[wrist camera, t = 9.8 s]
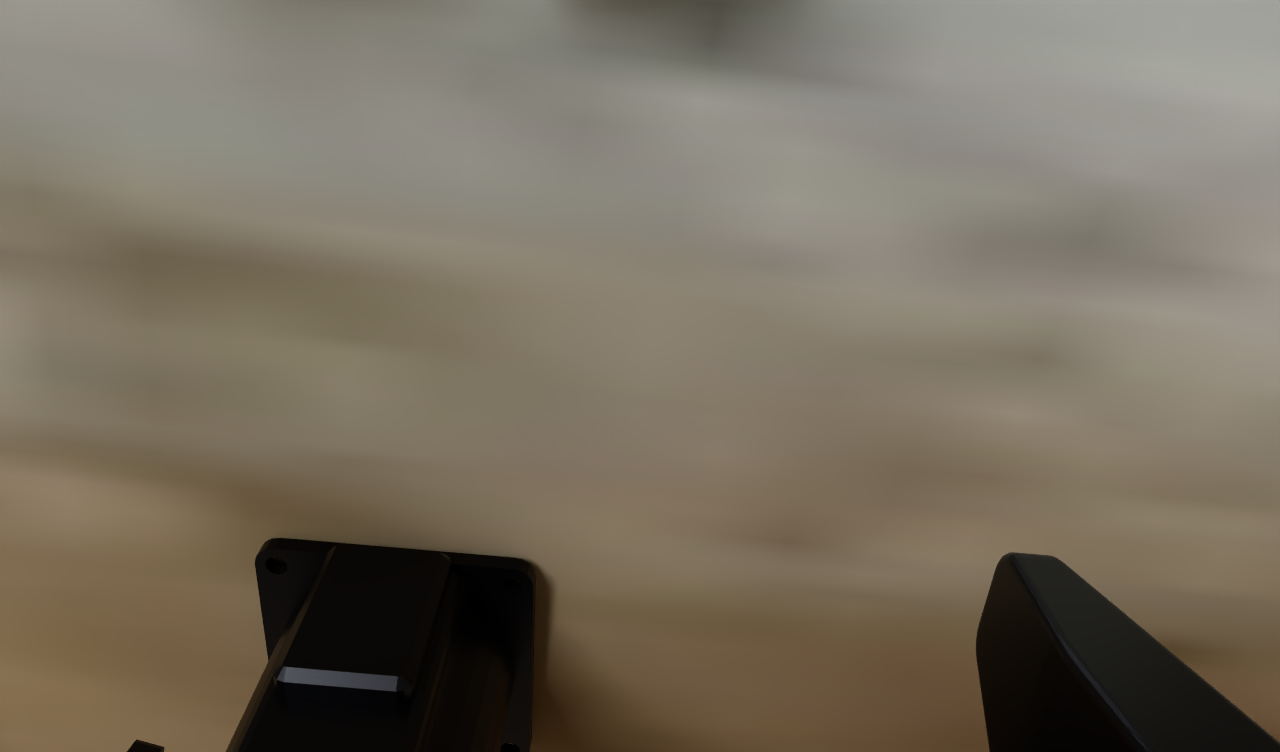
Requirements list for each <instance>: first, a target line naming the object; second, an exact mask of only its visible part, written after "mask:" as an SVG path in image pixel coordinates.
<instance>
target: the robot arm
mask: <svg viewBox="0 0 1280 752" xmlns="http://www.w3.org/2000/svg"><path fill="white" fill-rule="evenodd" d="M273 557H277V558H281V559H282V560H283V561H285V562H286V563H280V562H277V561H276V560H275V559H273ZM255 568H256V575H257V582H258V589H259V596H260V604H261V611H262V618H263V625H264V632H265V639H266V646H267V654H268V664H267V666H266V668H265V670H264V672H263V674H262V676H261V678H260V680H259V683H258V685H257V687H256V689H255V691H254V693H253V695H252V697H251V699H250V701H249V704H248V706H247V708H246V710H245V712H244V714H243V716H242V718H241V720H240V723H239V725H238V727H237V729H236V731H235V733H234V735H233V737H232V739H231V742H230V744H229V746H228V748H227V750H226V752H529V751H530V746H531V740H532V703H533V664H534V626H535V587H536V575H535V571H534V569H533V567H532V566H531V565H530V564H529V563H527V562H526V561H524V560H522V559H518V558H511V557H499V556H488V555H476V554H464V553H452V552H440V551H428V550H417V549H405V548H393V547H381V546H369V545H357V544H346V543H334V542H322V541H310V540H298V539H287V538H273V539H270V540H268V541H266V542H265V543H264V544H263V546H262V547H261V549H260V551H259V553H258V554H257V556H256V559H255ZM508 577H514V578H517V579H519V580H520V581H521V582H518V583H513V582H510V581H508V580H507V579H506V578H508ZM976 657H977V665H978V672H979V679H980V686H981V693H982V700H983V708H984V715H985V722H986V729H987V736H988V743H989V750H990V752H1280V743H1279V742H1278V741H1277V740H1276V739H1275V738H1273V737H1272V736H1271V735H1270V734H1269V733H1267V732H1266V731H1265V730H1264V729H1263V728H1261V727H1260V726H1259V725H1258V724H1257V723H1255V722H1254V721H1253V720H1252V719H1251V718H1249V717H1248V716H1247V715H1246V714H1245V713H1243V712H1242V711H1241V710H1240V709H1239V708H1237V707H1236V706H1235V705H1234V704H1233V703H1231V702H1230V701H1229V700H1228V699H1227V698H1225V697H1224V696H1223V695H1222V694H1221V693H1219V692H1218V691H1217V690H1216V689H1215V688H1213V687H1212V686H1211V685H1210V684H1209V683H1207V682H1206V681H1205V680H1204V679H1203V678H1201V677H1200V676H1199V675H1198V674H1197V673H1195V672H1194V671H1193V670H1192V669H1191V668H1189V667H1188V666H1187V665H1186V664H1185V663H1183V662H1182V661H1181V660H1180V659H1179V658H1177V657H1176V656H1175V655H1174V654H1173V653H1171V652H1170V651H1169V650H1168V649H1167V648H1165V647H1164V646H1163V645H1162V644H1161V643H1159V642H1158V641H1157V640H1156V639H1155V638H1153V637H1152V636H1151V635H1150V634H1149V633H1147V632H1146V631H1145V630H1144V629H1143V628H1141V627H1140V626H1139V625H1138V624H1137V623H1135V622H1134V621H1133V620H1132V619H1131V618H1129V617H1128V616H1127V615H1126V614H1125V613H1123V612H1122V611H1121V610H1120V609H1119V608H1117V607H1116V606H1115V605H1114V604H1113V603H1111V602H1110V601H1109V600H1108V599H1107V598H1105V597H1104V596H1103V595H1102V594H1101V593H1099V592H1098V591H1097V590H1096V589H1095V588H1093V587H1092V586H1091V585H1090V584H1089V583H1087V582H1086V581H1085V580H1084V579H1083V578H1081V577H1080V576H1079V575H1078V574H1077V573H1075V572H1074V571H1073V570H1072V569H1071V568H1069V567H1068V566H1067V565H1066V564H1065V563H1063V562H1062V561H1061V560H1059V559H1058V558H1056V557H1053V556H1048V555H1037V554H1025V553H1013V552H1012V553H1008V554H1006V555H1004V556H1003V557H1002V558H1001V559H1000V561H999V562H998V564H997V567H996V569H995V573H994V576H993V579H992V583H991V586H990V589H989V593H988V596H987V599H986V603H985V606H984V609H983V613H982V616H981V619H980V623H979V626H978V630H977V637H976ZM508 743H512V744H514V745H512V744H508ZM127 752H164V747H162V746H158V745H155V744H151V743H147V742H144V741H140V740H136V741H135V742H134V743H133V744H132V746H131V747H130V749H129V750H128V751H127Z"/></svg>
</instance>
